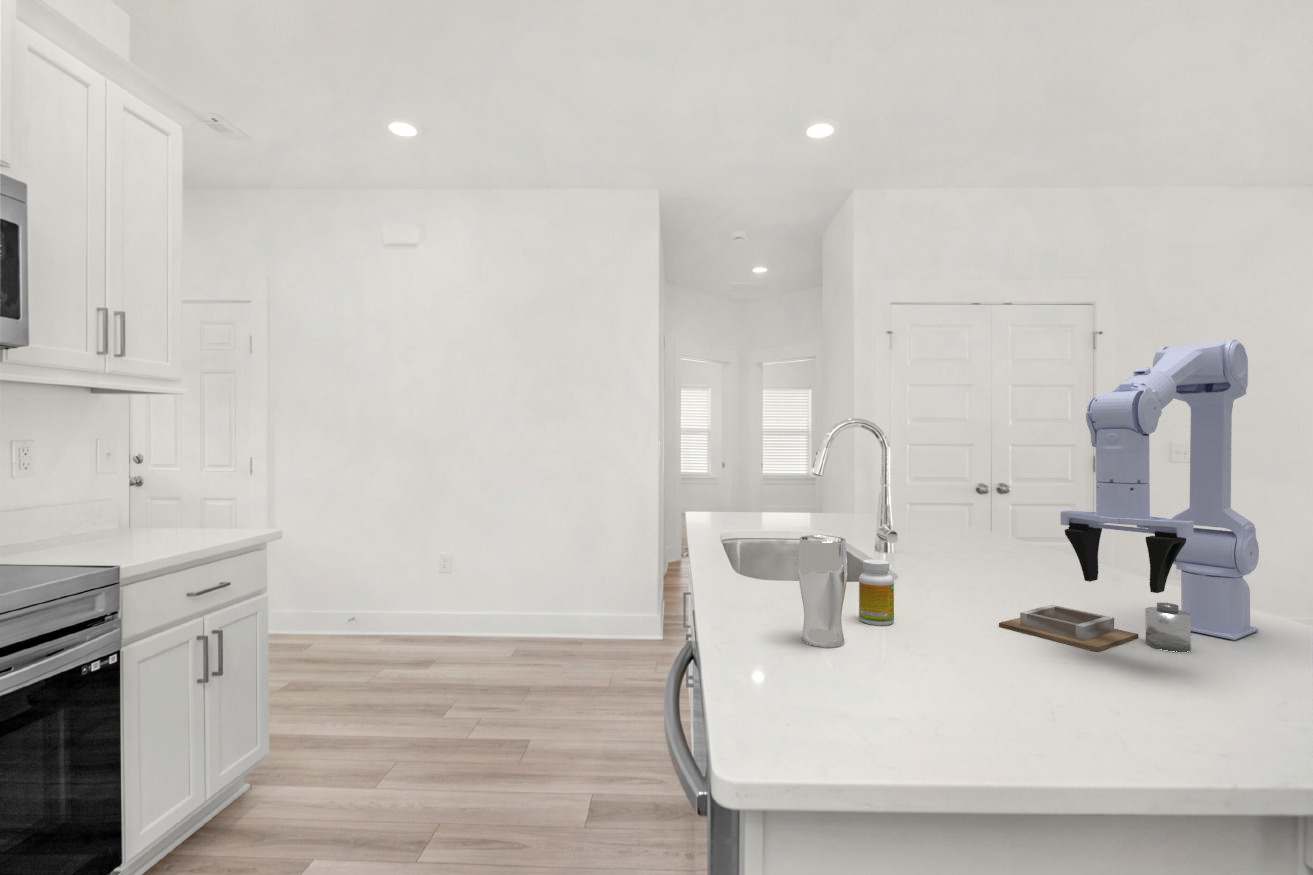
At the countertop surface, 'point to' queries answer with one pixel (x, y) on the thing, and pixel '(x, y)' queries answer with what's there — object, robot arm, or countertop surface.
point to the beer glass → (822, 588)
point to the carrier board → (1070, 627)
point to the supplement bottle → (876, 593)
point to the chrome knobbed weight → (1168, 628)
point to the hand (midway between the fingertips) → (1122, 585)
